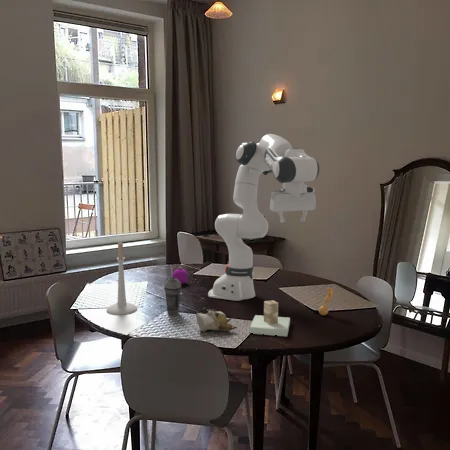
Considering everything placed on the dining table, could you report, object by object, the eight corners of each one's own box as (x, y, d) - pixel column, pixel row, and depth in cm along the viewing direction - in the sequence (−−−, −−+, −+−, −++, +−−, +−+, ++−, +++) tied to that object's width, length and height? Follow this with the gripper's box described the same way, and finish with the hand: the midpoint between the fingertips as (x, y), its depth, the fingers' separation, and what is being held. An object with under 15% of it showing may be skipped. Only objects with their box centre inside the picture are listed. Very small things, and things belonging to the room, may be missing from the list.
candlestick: (118, 317, 200) (116, 245, 195) (100, 310, 208) (98, 241, 204) (143, 309, 209) (141, 241, 205) (125, 303, 217) (123, 237, 213)
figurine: (316, 311, 208) (317, 284, 206) (330, 311, 208) (331, 284, 206) (320, 318, 200) (321, 290, 198) (335, 318, 200) (336, 290, 198)
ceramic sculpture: (194, 304, 188) (231, 304, 192) (192, 325, 190) (230, 325, 193) (198, 313, 178) (238, 313, 182) (197, 336, 179) (236, 335, 183)
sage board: (249, 333, 182) (249, 326, 182) (255, 321, 196) (255, 314, 196) (287, 336, 180) (287, 329, 179) (289, 323, 193) (290, 317, 193)
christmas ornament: (183, 286, 245) (183, 267, 244) (169, 285, 248) (169, 266, 247) (190, 282, 253) (190, 264, 252) (176, 281, 256) (176, 262, 254)
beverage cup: (168, 317, 199) (167, 270, 196) (161, 312, 205) (161, 266, 202) (184, 315, 202) (184, 268, 199) (177, 310, 209) (177, 264, 206)
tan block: (268, 324, 185) (269, 304, 184) (263, 321, 188) (264, 301, 187) (277, 323, 186) (278, 303, 185) (272, 319, 190) (273, 300, 189)
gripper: (275, 189, 192) (274, 224, 194) (318, 188, 200) (317, 221, 202) (267, 188, 198) (266, 222, 200) (309, 187, 206) (309, 219, 208)
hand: (292, 221), depth 201 cm, fingers open, 8 cm apart
